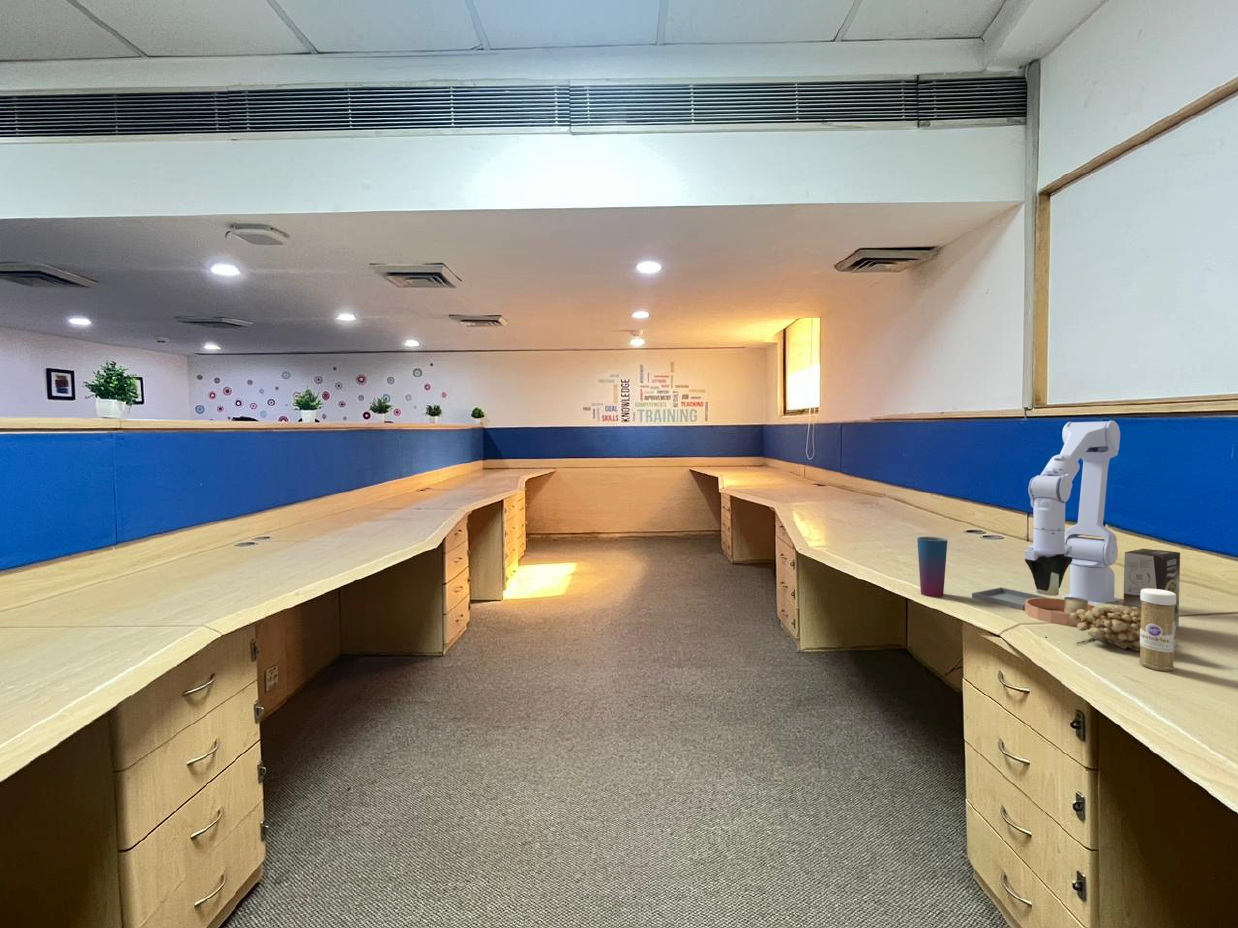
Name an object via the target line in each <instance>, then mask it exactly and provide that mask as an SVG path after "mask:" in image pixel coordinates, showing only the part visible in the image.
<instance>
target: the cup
mask: <svg viewBox="0 0 1238 928" xmlns="http://www.w3.org/2000/svg"><path fill="white" fill-rule="evenodd" d="M916 540H917V542H916V543H917V553H918V557H917V558H918V569H919V586H920V594H921V595H922V596H924V597H930V598H942V597H944V593H945V579H946V568H947V567H946V566H947V565H946V563H947V551H948V539H947V538H944V537H939V536H918V537H917V538H916Z"/></svg>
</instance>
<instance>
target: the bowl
mask: <svg viewBox="0 0 1238 928" xmlns="http://www.w3.org/2000/svg"><path fill="white" fill-rule="evenodd" d="M1094 607H1096V606H1095V605H1092V604H1089V603H1088V610H1090V611H1092V608H1094ZM1024 614H1025V615H1027V616H1028V617H1030V618H1033V619H1034V620H1038V621H1042V622H1046V623H1049V624H1056V625H1060V626H1061V625H1062V626H1070V627H1077V624H1078V623H1081V622H1080V621H1079V620H1072V619H1071V618H1070V614H1067V613H1064V598H1054V597H1052V598H1051V597H1048V598H1031V599H1027V600H1026V601H1025V610H1024Z"/></svg>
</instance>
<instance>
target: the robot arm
mask: <svg viewBox="0 0 1238 928" xmlns="http://www.w3.org/2000/svg"><path fill="white" fill-rule="evenodd" d="M1061 434H1062V435H1061V436H1062V442H1063V446H1062V449H1061V451H1060V453H1059V454H1055V455H1053V456H1052V457H1051V458H1050V460H1048V462H1047V464H1046V465H1045V467H1044V468H1043V470H1042V472H1041V473H1040V475H1039V474H1037V475H1036V476H1034V477H1032V478H1031V479H1030V481H1029V484H1028V488H1027V490H1028V495H1029V499H1030V507H1031V508H1033V516H1032V518H1033V520H1032V523H1033V525H1032V526H1033V528H1032V541H1033V542H1032V544H1030V545H1027V549H1025V550H1024V562H1025V563H1026V565H1027V566H1028V568H1029V570H1030V572H1031V575H1032V578H1033V581H1034V585H1035V588H1036V590H1037V589H1039V590H1044V591H1048V589H1049V585H1050V578H1051V573H1057V574H1059V589H1060V588H1061V585H1062V582H1063V579H1064V577H1065V573H1066V571H1067V569H1068V567H1069V593H1068V594H1064V595H1061V597H1063V598H1065V597H1077V598H1082V599H1086V600H1088V603H1091V604H1096V605H1101V604H1106V603H1108V602H1113V603H1115V602H1118V601H1120V598H1119V597H1115V582H1116V581H1115V579H1116V578H1115V575H1116V574H1115V572H1114V571H1113V569H1112V566H1113V564H1115V563H1116V561H1117V559H1118V553H1119V549H1118V545H1117V544H1118V541H1117V539H1118V538H1117V535H1116V533H1114V532H1113V531H1111V530H1110V529H1108V527H1105V525H1104V519H1105V518H1104V517H1105V516H1104V515H1105V506H1106V505H1105V504H1106V496H1107V495H1106V493H1107V482H1108V473H1109V472H1108V471H1109V463H1110V460H1111V459H1112V458H1115V457H1117V456H1119V450H1120V441H1121V431H1120V426H1119V424H1118V423H1117V422H1116V421H1115V420H1108V421H1077V422H1076V421H1075V422H1073V421H1068V422H1067V423H1065V425H1064V426H1063V428H1062V433H1061ZM1080 459H1081V460H1082V462H1083V464H1082V473H1081V482H1080V483H1081V484H1080V493H1079V494H1080V495H1079V503H1078V517H1077V523H1076V524H1074V525H1072V526H1070V527H1068V528H1067V529H1066V502H1068V500H1069V499H1070V497H1071V492H1072V488H1073V483H1072V482H1073V480H1074V478H1075V476H1077V473H1078V472H1079V470H1080V463H1079V461H1080ZM1084 536H1085V537H1084ZM1086 536H1087V537H1086ZM1096 537H1097V538H1096ZM1110 566H1111V567H1110Z"/></svg>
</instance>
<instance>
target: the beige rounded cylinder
mask: <svg viewBox="0 0 1238 928" xmlns="http://www.w3.org/2000/svg"><path fill="white" fill-rule="evenodd" d="M1063 599H1064V613H1067V614H1071V613H1076V612H1077V610H1078V609H1083V610H1086V611H1088V604H1089V602H1088V600H1086V599H1082V598H1077V597H1063Z"/></svg>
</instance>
